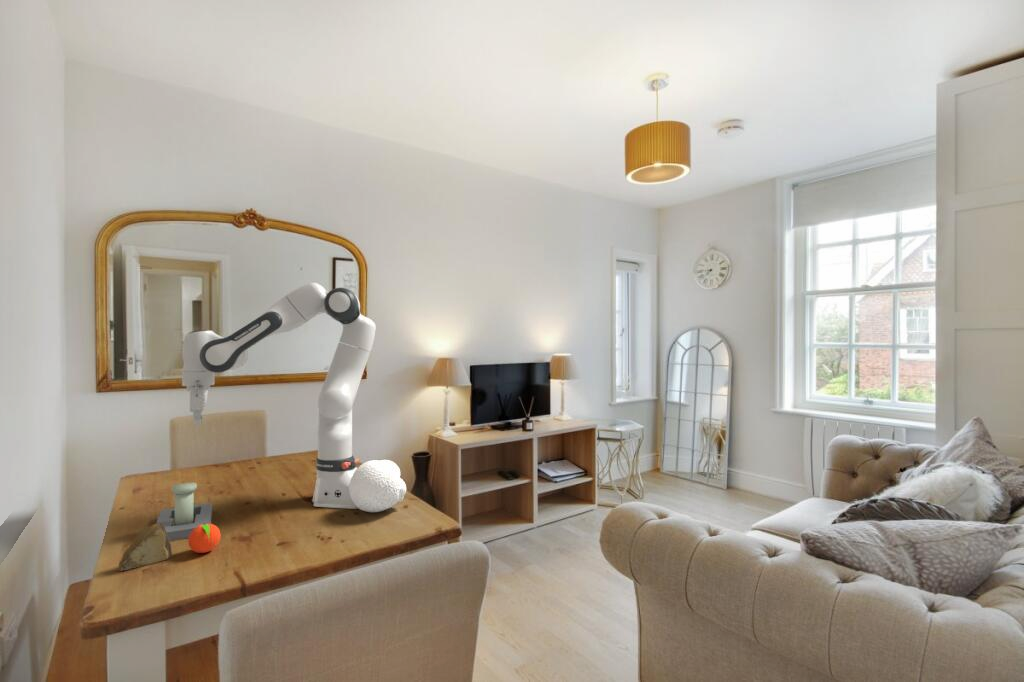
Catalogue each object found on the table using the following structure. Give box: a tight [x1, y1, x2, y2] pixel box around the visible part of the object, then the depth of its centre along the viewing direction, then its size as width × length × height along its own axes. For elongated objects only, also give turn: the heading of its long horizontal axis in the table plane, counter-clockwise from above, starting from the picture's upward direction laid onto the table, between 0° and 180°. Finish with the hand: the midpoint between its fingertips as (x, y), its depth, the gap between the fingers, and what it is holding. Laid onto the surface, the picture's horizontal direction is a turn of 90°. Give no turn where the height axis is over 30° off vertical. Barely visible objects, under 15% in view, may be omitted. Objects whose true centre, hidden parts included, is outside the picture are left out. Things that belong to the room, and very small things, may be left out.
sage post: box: [171, 482, 198, 526], centre depth 135 cm, size 6×6×12 cm
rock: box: [118, 523, 173, 572], centre depth 115 cm, size 10×8×10 cm
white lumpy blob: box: [349, 459, 407, 513], centre depth 152 cm, size 20×18×16 cm
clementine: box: [187, 523, 222, 554], centre depth 120 cm, size 8×7×7 cm
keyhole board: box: [155, 502, 213, 542], centre depth 138 cm, size 22×13×2 cm, turn 31°
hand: (198, 422), depth 154 cm, fingers open, 8 cm apart
